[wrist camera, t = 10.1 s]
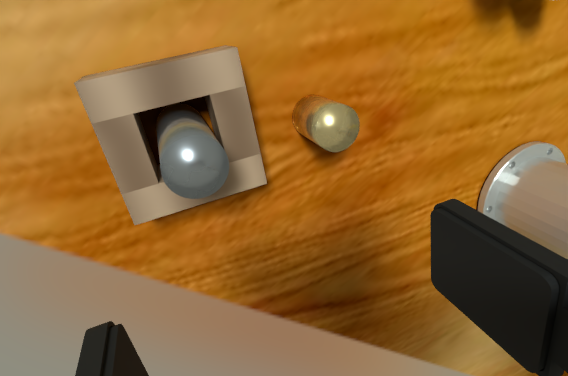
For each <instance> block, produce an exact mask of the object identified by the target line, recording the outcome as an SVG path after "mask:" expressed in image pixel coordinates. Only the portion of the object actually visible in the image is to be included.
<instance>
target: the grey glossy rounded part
mask: <svg viewBox="0 0 568 376" xmlns="http://www.w3.org/2000/svg"><path fill="white" fill-rule="evenodd" d="M292 121H293V125H294V127H295V129H296V130H297V131H298V132H299V133H300V134H302V135H303V136H305V137H307V138H308V139H310V140H311V141H313V142H314V143H316V144H317V145H319V146H321V147H322V148H324V149H325V150H327V151H330V152H339V151H343V150H345V149H346V148H348V147H349V146H350V145H351V144H352V143H353V142H354V141H355V139H356V137H357V135H358V132H359V118H358V116H357V114H356V112H355V111H354V110H353V109H352V108H351V107H349V106H347V105H344V104H341V103H338V102H335V101H333V100H330V99H327V98H324V97H321V96H318V95H308V96H305V97H304V98H302V99H301V100H300V101H299V102H298V103H297V104H296V106H295V108H294V110H293V115H292Z"/></svg>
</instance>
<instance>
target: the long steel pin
mask: <svg viewBox="0 0 568 376" xmlns="http://www.w3.org/2000/svg"><path fill="white" fill-rule="evenodd" d="M156 132H157V141H158V150H159V159H160V168H161V175H162V178H163V180H164V182H165V184H166V185H167V187H168V188H169V189H170V190H171V191H172V192H174V193H175V194H177V195H179V196H181V197H184V198H189V199H199V198H204V197H207V196H210V195H212V194H213V193H215V192H216V191H218V190H219V189H220V188H221V187H222V185H223V184H224V183H225V181H226V179H227V176H228V173H229V160H228V156H227V154H226V152H225V150H224V149H223V147H222V146H221V144H220V143H219V141H218V140H217V139H216V137H215V136H214V134H213V133H212V131H211V130H210V128H209V127H208V125H207V124H206V122H205V121H204V120H203V118H202V117H201V115H200V114H199V112H198V111H197V110H196V109H194V108H193V107H191V106H189V105H186V104H173V105H170V106H168V107H166V108H165V109H164V110H162V111H161V113H160V114H159V116H158V118H157V121H156Z"/></svg>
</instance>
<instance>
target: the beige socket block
mask: <svg viewBox="0 0 568 376" xmlns="http://www.w3.org/2000/svg"><path fill="white" fill-rule="evenodd" d="M74 84H75V86H76V88H77V91H78V93H79V96H80V98H81V100H82V103H83V105H84V107H85V110H86V112H87V114H88V117H89V119H90V121H91V124H92V126H93V128H94V131H95V133H96V135H97V138H98V140H99V142H100V145H101V147H102V149H103V152H104V154H105V157H106V159H107V161H108V164H109V166H110V168H111V171H112V173H113V175H114V178H115V180H116V182H117V185H118V187H119V189H120V192H121V194H122V196H123V199H124V201H125V203H126V206H127V208H128V210H129V213H130V215H131V218H132V220H133V222H134V225H137V224H141V223H144V222H147V221H150V220H153V219H156V218H160V217H163V216H166V215H169V214H172V213H175V212H179V211H182V210H185V209H188V208H191V207H194V206H198V205H201V204H204V203H207V202H210V201H214V200H217V199H220V198H223V197H226V196H229V195H233V194H236V193H239V192H242V191H245V190H248V189H252V188H255V187H258V186H261V185H264V184H267V180H266V176H265V171H264V167H263V162H262V158H261V153H260V149H259V144H258V140H257V135H256V131H255V126H254V122H253V117H252V113H251V108H250V104H249V99H248V94H247V90H246V85H245V81H244V76H243V72H242V67H241V63H240V58H239V54H238V49H237V47H232V46H221V47H216V48H211V49H207V50H202V51H198V52H193V53H188V54H184V55H179V56H175V57H170V58H165V59H161V60H156V61H152V62H147V63H142V64H138V65H133V66H129V67H124V68H119V69H115V70H110V71H106V72H101V73H96V74H92V75H87V76H84V77H82V78H81V79H79V80H78V81H76V82H75V83H74ZM202 96H204V97H205V101H206V105H207V108H208V112H209V115H210V119H211V123H212V126H213V130H214V134H215V137H216V139H217V140H218V141H219V143H220V144H221V146H222V147H223V149H224V150H225V152H226V154H227V156H228V160H229V173H228V176H227V179H226V181H225V183H224V184H223V185H222V187H221V188H220V189H219V190H218V191H216V192H215V193H213V194H212V195H210V196H207V197H204V198H199V199H189V198H184V197H181V196H179V195H177V194H175V193H174V192H172V191H171V190H170V189H169V188H168V187H167V185H166V184H165V182H164V180H163V178H162V175H161V168H160V165H157V164H156V161H155V158H154V155H153V153H152V150H151V147H150V144H149V142H148V139H147V136H146V133H145V131H144V128H143V125H142V122H141V120H140V117H139V114H138V112H142V111H146V110H150V109H154V108H158V107H162V106H166V105H170V104H174V103H178V102H182V101H186V100H190V99H194V98H198V97H202Z"/></svg>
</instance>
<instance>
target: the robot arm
mask: <svg viewBox="0 0 568 376" xmlns="http://www.w3.org/2000/svg"><path fill="white" fill-rule="evenodd" d="M431 280H432V283H433V285H434V286H435V288H436V289H437V290H438V291H439V292H440V293H441V294H442V295H444V296H445V297H446V298H447V299H448V300H449V301H450V302H451V303H453V304H454V305H455V306H456V307H457V308H458V309H459V310H460V311H461V312H463V313H464V314H465V315H466V316H467V317H468V318H469V319H470V320H471V321H473V322H474V323H475V324H476V325H477V326H478V327H479V328H480V329H482V330H483V331H484V332H485V333H486V334H487V335H488V336H489V337H490V338H492V339H493V340H494V341H495V342H496V343H497V344H498V345H499V346H501V347H502V348H503V349H504V350H505V351H506V352H507V353H508V354H509V355H511V356H512V357H513V358H514V359H515V360H516V361H517V362H518V363H519V364H521V365H522V366H523V367H524V368H525V369H526V370H528V371H529V372H531V373H536V374H538V375H539V376H561V375H563V373H564V370H565V371H566V372H567V373H568V164H566V161H565V158H564V156H563V154H562V152H561V151H560V149H558V148H557V147H556V146H554V145H551V144H548V143H545V142H539V141H536V142H529V143H526V144H523V145H521V146H519V147H517V148H516V149H514V150H512V151H511V152H510V153H508V154H507V155H506V156H505V157H504V158H503V159H502V160H501V161H500V162H499V163H498V164H497V165H496V166H495V168H494V169H493V170H492V172H491V173H490V175H489V176H488V178H487V180H486V182H485V184H484V186H483V188H482V191H481V194H480V198H479V202H478V211H477V210H475V209H473V208H471V207H470V206H468V205H466V204H464V203H462V202H460V201H458V200H456V199H450V200H447V201H445V202H442V203H439V204H437V205H435V207H434V210H433V211H432V212H431ZM75 376H149V375H148V373H147V371H146V369H145V367H144V365H143V364H142V362H141V360H140V358H139V356H138V354H137V352H136V350H135V348H134V346H133V344H132V342H131V341H130V338H129V337H128V334H127V333H126V331H125V329H124V327H123V325H122V324H118V325H114V323H113V322H111V321H109V322H107V323H104V324H101V325H99V326H96V327H93V328H90V329H88V330H87V331H86V333H85V336H84V340H83V345H82V349H81V353H80V358H79V362H78V367H77V370H76V375H75Z"/></svg>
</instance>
